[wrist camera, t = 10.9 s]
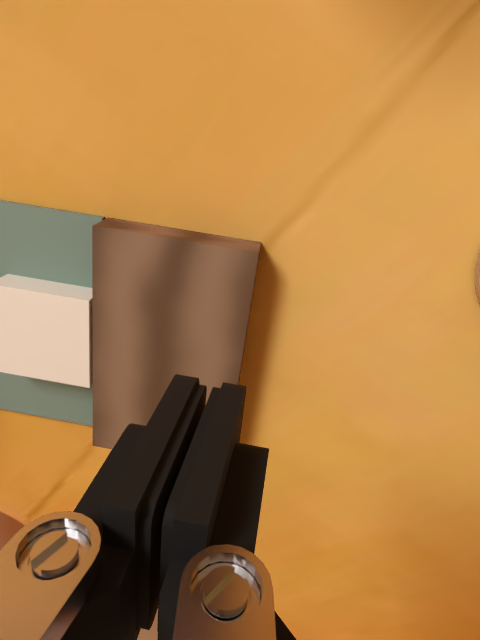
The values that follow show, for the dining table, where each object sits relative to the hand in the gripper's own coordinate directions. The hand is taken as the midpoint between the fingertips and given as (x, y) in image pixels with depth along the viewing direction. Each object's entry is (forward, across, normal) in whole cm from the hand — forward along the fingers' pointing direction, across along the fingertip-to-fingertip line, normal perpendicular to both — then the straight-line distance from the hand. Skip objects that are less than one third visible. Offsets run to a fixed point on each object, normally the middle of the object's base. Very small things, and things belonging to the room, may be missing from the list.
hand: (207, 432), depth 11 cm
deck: (+25, +8, +11) cm, 28 cm away
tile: (+24, +18, +11) cm, 32 cm away
